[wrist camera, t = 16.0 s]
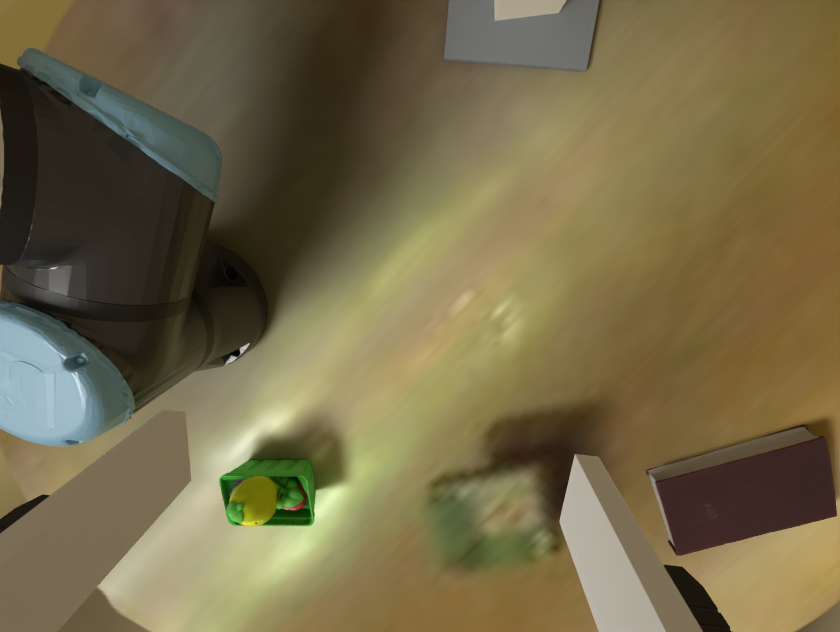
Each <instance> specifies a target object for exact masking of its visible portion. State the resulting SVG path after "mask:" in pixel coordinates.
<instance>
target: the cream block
mask: <svg viewBox="0 0 840 632" xmlns="http://www.w3.org/2000/svg"><path fill="white" fill-rule="evenodd" d="M565 2H566V0H494V10H495V21H498V20H506V19H514V18H522V17H530V16H538V15H546V14H554V13H559V12H560V10H561V9H562V7H563V5H564V4H565Z"/></svg>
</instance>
